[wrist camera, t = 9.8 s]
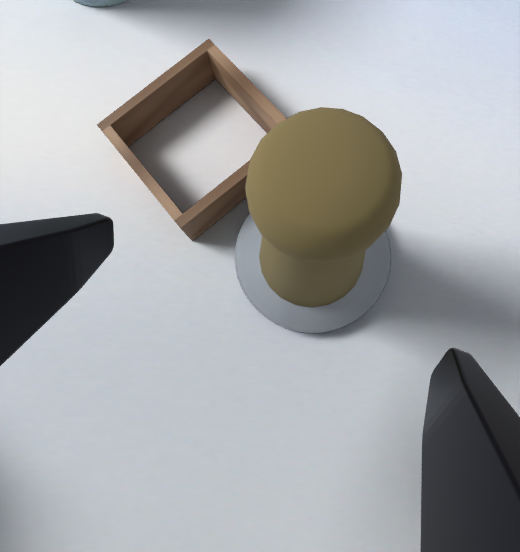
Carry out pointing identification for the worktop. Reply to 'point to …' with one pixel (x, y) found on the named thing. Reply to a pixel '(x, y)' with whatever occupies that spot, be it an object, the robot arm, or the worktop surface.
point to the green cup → (99, 2)
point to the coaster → (308, 317)
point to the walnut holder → (165, 100)
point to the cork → (320, 202)
